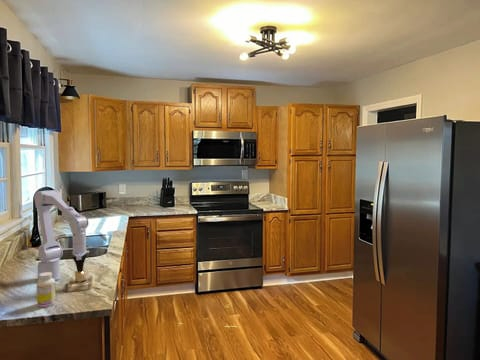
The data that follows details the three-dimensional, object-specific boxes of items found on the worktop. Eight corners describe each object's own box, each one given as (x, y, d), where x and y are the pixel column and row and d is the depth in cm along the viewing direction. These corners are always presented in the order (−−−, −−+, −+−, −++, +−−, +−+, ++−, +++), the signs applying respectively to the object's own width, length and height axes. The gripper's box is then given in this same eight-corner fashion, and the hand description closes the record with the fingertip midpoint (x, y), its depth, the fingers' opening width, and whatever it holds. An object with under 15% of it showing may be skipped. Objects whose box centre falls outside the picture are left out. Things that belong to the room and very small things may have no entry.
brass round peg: (75, 288, 165) (74, 273, 165) (75, 285, 169) (75, 270, 168) (84, 287, 166) (84, 272, 166) (84, 284, 170) (84, 269, 170)
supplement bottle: (46, 300, 151) (45, 270, 150) (59, 302, 149) (58, 272, 148) (33, 306, 145) (32, 275, 144) (46, 308, 143) (45, 277, 142)
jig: (67, 291, 160) (67, 286, 160) (69, 283, 171) (69, 278, 171) (91, 289, 164) (91, 283, 164) (92, 280, 175) (92, 275, 175)
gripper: (88, 245, 161) (88, 274, 162) (89, 238, 174) (89, 265, 175) (71, 246, 158) (71, 276, 159) (73, 239, 172) (74, 267, 173)
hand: (80, 271), depth 167 cm, fingers closed
